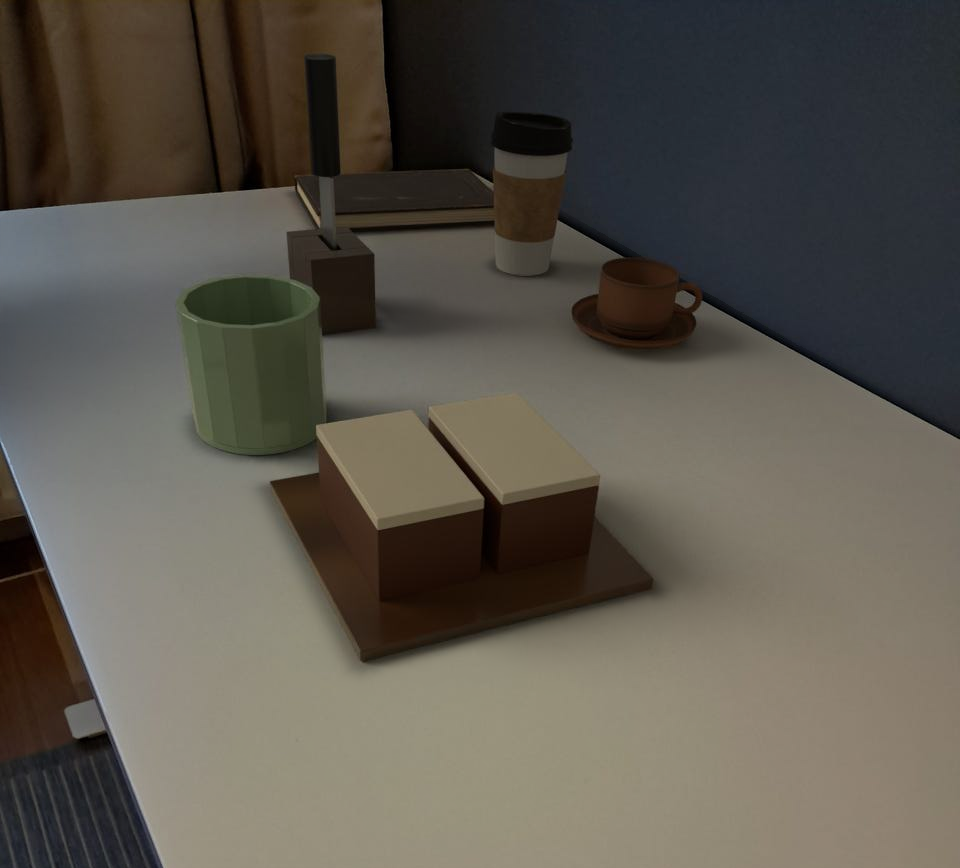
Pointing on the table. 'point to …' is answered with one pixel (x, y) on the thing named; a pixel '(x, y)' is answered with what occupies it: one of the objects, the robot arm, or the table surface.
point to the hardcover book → (401, 199)
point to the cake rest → (400, 503)
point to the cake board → (455, 605)
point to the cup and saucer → (637, 306)
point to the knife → (323, 135)
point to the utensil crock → (253, 362)
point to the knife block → (336, 277)
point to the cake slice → (520, 480)
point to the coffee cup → (528, 188)
